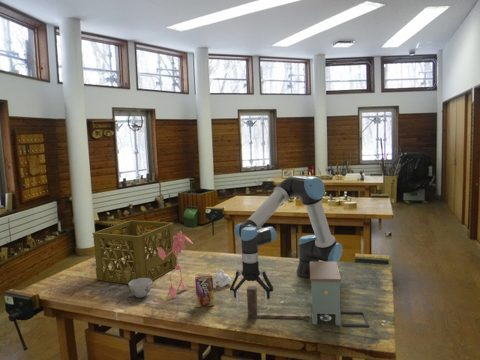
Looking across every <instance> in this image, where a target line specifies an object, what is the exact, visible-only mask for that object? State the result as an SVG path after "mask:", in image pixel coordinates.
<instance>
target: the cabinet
mask: <svg viewBox="0 0 480 360" xmlns="http://www.w3.org/2000/svg"><path fill="white" fill-rule="evenodd" d="M309 279H310V280H309V281H310V283H311V284H310V287H311V288H310V289H311V311H312V312H311V313H312V315H311V317H312V318H311V320H312V325H318V314H319V315H335V326H341V313H340V311H341V290H340V289H341V285H340V284H341V283H342V278H341V274H340V271H339V266H338V262H325V261H319V262H313V261H310V278H309Z"/></svg>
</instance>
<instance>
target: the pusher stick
mask: <svg viewBox="0 0 480 360" xmlns="http://www.w3.org/2000/svg"><path fill="white" fill-rule="evenodd" d="M257 292H258V290H257V286H256V285H247V288H246V301H247V302H246V303H247V319H257V318H262V319H264V318H265V319H269V318H270V319H299V320H301V319H302V320H304V321H309V311H308V310H307V311H304V313H303V314H302V313H299V314H298V313H272V312H271V313H270V312H269V313H268V312H264V313H263V312H258V311H259V310H258V293H257Z"/></svg>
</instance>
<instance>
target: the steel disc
mask: <svg viewBox="0 0 480 360" xmlns="http://www.w3.org/2000/svg"><path fill="white" fill-rule="evenodd" d="M319 319H320V320H321V321H323V322H330V321H332V316H331V315H330V314H320V316H319Z"/></svg>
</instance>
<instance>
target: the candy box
mask: <svg viewBox="0 0 480 360" xmlns="http://www.w3.org/2000/svg"><path fill="white" fill-rule="evenodd" d="M213 277H214V276H213V274H212V273H208V274H198V275H197V274H196V275H195V278H194V279H195V280H194V281H195V282H194V283H195V293H196V294H195V296H196V307H197V308H202V307H210V306H215V294H214V292H215V290H214V287H213Z"/></svg>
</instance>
